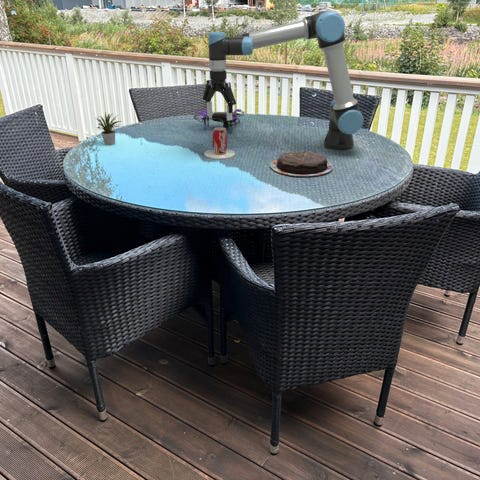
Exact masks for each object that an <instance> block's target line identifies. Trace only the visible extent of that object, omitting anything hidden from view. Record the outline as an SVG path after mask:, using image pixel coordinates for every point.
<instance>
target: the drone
mask: <svg viewBox="0 0 480 480" xmlns="http://www.w3.org/2000/svg"><path fill="white" fill-rule="evenodd" d="M238 112H239V113H238ZM244 115H245V111H244V110H242V109H241V108H240V109H239V108H236V109H234V111H233V113H232V120H229V121H227V111H214V110H212V116H211V117H210V116H207V110H201V111H200V112H197V113H195V114H194V115H193V118H194V120H195V121H198V122H201V123H202V122H203V125H204V132H207V128H209V127H210V123H209V121H213V122H218V123H222V127H224V128H226V130H228V129H229V128H230V129H229V132H230V133H229V134H231V135H232V134H233V133H232V132H233V131H232V127H233V126H234V127H236V126H237V125H238V124H240V123H241V119H240V118H239V117H242V116H244Z"/></svg>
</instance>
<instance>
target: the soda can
mask: <svg viewBox="0 0 480 480" xmlns="http://www.w3.org/2000/svg"><path fill="white" fill-rule="evenodd" d="M212 149H213V152H214V153H215V154H218V155H222V154H225V153H226V152H227V149H228V132H227V129H226V128H224V127H223V126H215V127H213V131H212Z"/></svg>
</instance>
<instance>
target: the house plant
mask: <svg viewBox="0 0 480 480" xmlns="http://www.w3.org/2000/svg"><path fill="white" fill-rule="evenodd" d="M112 116H113V113H112V114H111V115H110V113H108V114H107V112H105V113H104V118H103V116H101V115H99V117H100V118H101V119H100V118H99V117H95V120H97V121H98V122H99V123H98V126H97V127H96V129H98V130H103V131H102V132H101V137H102V139H103V143H104V145H105V146H114V145H115V144H116V131H115V130H114V129H115V128H119V127H120V126H121V125H120V124H118V123H120V122H122V121H121V120H117V119H118V116H119V115H118V114H117V115H115V116H114V117H113V118H112V120H110V119H111V117H112ZM115 120H116V121H115ZM113 121H114V122H113ZM116 124H118V125H116Z"/></svg>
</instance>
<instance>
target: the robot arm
mask: <svg viewBox="0 0 480 480" xmlns="http://www.w3.org/2000/svg"><path fill="white" fill-rule="evenodd" d="M345 22H346V21H345V19H344V17H343V16H342V15H341V14H340V13H339V12H337V11H335V10H321V11H319V12H317V13H316V12H315V13H314V14H311V15H308V16H304V17H303V18H302V19H301V20H297V21H293V22H289V23H283V24H279V25H276V26H270V27H266V28H263V29H259V30H258V29H257V30H255V31H250V32H244V33H241V34H235V35H233V36H230V37H229V36H226V32H225V31H214V32H213V31H211V32H209V34H208V43H207V44H208V62H209V67H208V68H209V70H210V71H209V79H207V80H206V82H205V83H206V84H205V85H206V86H205V89H204V92H203V96H202V100H204V101H205V105H206V107H205V108H206V111H207V113H206V114H207V116H209V117H212V111H213V101H212V100H213V97H214V96H215V93H216V92H218V93H220V94H221V95H222V97H223V99H224V101H225V103H226V112H227V121H229V120H232V113H233V112H234V108H233V107H234V106H235V105H237V101H236V99H235V98H236V97H235V95H234V92H233V90H232V85H231V82H230V81H229V82H226V79H227V70H226V69H227V57H228V56H251V55H253V51H254V50H256V49H261V48H266V47H271V46H274V45H279V44H283V43H288V42H294V41H297V40H300V39H301V40H302V39H305V40H307V41H308V40H313V39H316V40H317V43H318V48H319V50H321V51H323V53H324V54H323V55H324V60H325V63H326V68H327V72H328V77H329V82H330V87H331V90H332V94H333V99H334V100H332V101H331V102H330V106H329V108H330V110H329V121H328V130H327V133H326V135H325V137H324V140H323V147H325V148H327V149H331V150H337V151H338V150H339V151H340V150H341V151H342V150H343V151H344V150H345V151H346V150H350V149H353V148H354V145H355V142H354V137H353V135H354V134H356V133H357V132H358V131H360V130H361V129H362V127H363V125H364V116H363V114H362V112H361V111H360V105H359V101H358V100H357V99H356V98H354V94H353V88H352V84H351V83H352V82H351V79H350V78H351V77H350V73H349V69H348V64H347V59H346V53H345V49H344V44H345V43H346V35H345V29H346V24H345Z"/></svg>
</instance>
